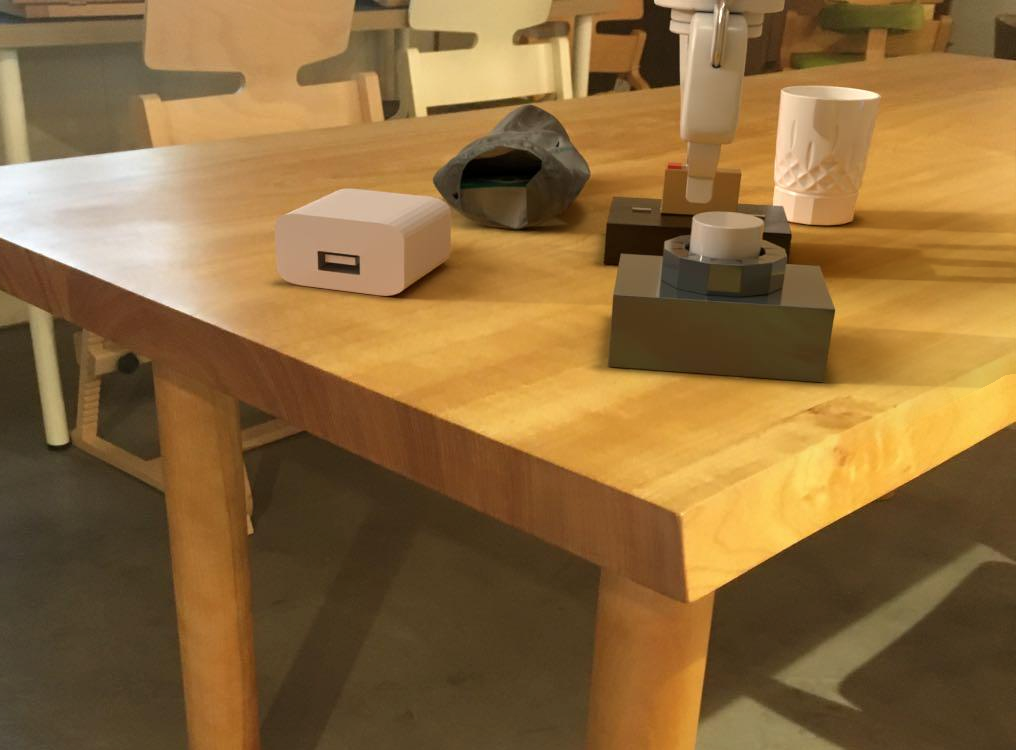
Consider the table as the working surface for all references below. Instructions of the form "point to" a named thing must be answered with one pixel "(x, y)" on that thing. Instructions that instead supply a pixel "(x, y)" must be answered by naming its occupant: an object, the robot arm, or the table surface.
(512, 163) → the grey pouch
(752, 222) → the white push button
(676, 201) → the tan block
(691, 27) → the robot arm
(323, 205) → the charger
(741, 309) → the button base box
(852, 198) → the white cup
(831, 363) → the table surface
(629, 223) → the panel
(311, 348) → the table surface
